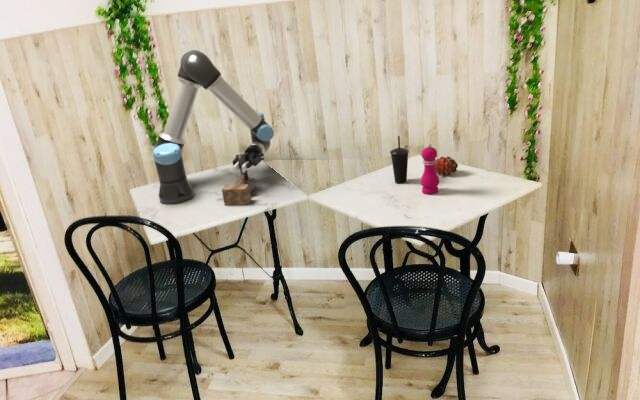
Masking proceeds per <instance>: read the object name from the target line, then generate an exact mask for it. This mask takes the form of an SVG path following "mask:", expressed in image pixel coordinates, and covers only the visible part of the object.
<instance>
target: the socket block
mask: <svg viewBox="0 0 640 400" xmlns="http://www.w3.org/2000/svg"><path fill="white" fill-rule="evenodd" d="M221 192H222V197H223V203H224V206H244V205H245V206H246V205H249V203H250V202H251V201H252V198H251V197H252V195H251V196H250V190H249V185H248V184H246V185H235V184H226V185H224V187H222V189H221Z"/></svg>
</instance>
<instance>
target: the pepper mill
mask: <svg viewBox="0 0 640 400" xmlns="http://www.w3.org/2000/svg"><path fill="white" fill-rule="evenodd" d="M420 155H421V157H422V165H423V167H424V169H423V173H422V176H421V178H420V185H421V186H422V188H421V189H422V191H421V192H422V194H423V195H427V196H431V195H436V194H438V193H439V187H438V186H439V184H440V178H439V176H438V173H436V171H435V163H436V160H437V156H438V151H437V149H436V148H434V147H432V144H431V143H427V144H426V147H425V148H423V149H422V151H421V154H420Z"/></svg>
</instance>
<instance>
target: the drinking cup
mask: <svg viewBox="0 0 640 400" xmlns="http://www.w3.org/2000/svg"><path fill="white" fill-rule="evenodd" d="M397 144H398V145H397V147H396V148H393V149H392V150H390V151H389V154H390V157H391V164H392V170H393V177H394V178H393V179H394V183H395V184H396V185H397V184H398V185H404V184H406V183H407V180H408V162H409V159H408V158H409V153H410V150H409V149H408V148H404V147H401V139H400V135H397Z"/></svg>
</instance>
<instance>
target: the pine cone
mask: <svg viewBox="0 0 640 400" xmlns="http://www.w3.org/2000/svg"><path fill="white" fill-rule="evenodd" d="M458 167H459V164H458V163H457V162H456V160H455V159H454V158H452V157H450V156H446V157H445V156H440V157H439V158H436V163H435V171H436V173H437V174H439V175H441V176H442V177H444V176H446V175H447V176H450V175H452V174H453V173H456V172H457V171H458Z"/></svg>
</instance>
